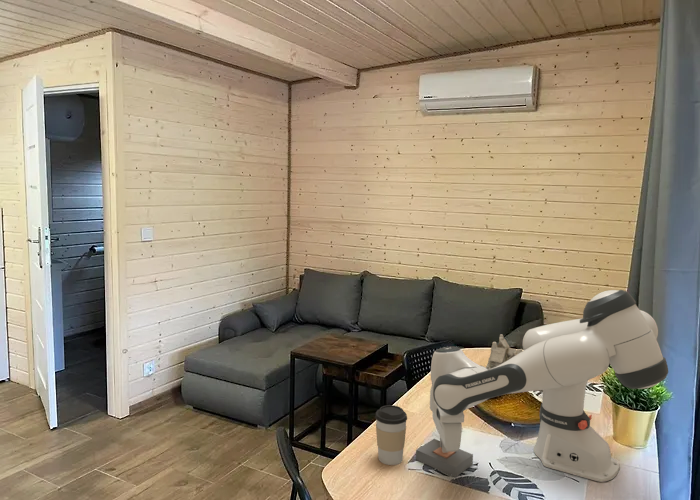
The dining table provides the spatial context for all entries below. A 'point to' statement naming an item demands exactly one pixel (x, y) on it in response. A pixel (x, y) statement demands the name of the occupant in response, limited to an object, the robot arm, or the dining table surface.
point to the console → (444, 459)
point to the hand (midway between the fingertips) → (444, 450)
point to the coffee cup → (390, 434)
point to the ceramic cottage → (501, 353)
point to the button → (445, 455)
